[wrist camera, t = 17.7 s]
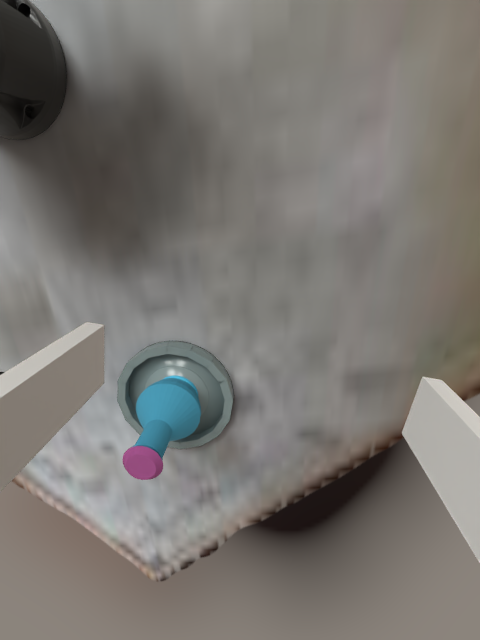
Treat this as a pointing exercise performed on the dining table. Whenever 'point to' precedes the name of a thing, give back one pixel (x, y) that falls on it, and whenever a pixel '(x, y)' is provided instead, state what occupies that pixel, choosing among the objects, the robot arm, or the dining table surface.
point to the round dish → (190, 365)
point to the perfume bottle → (162, 423)
